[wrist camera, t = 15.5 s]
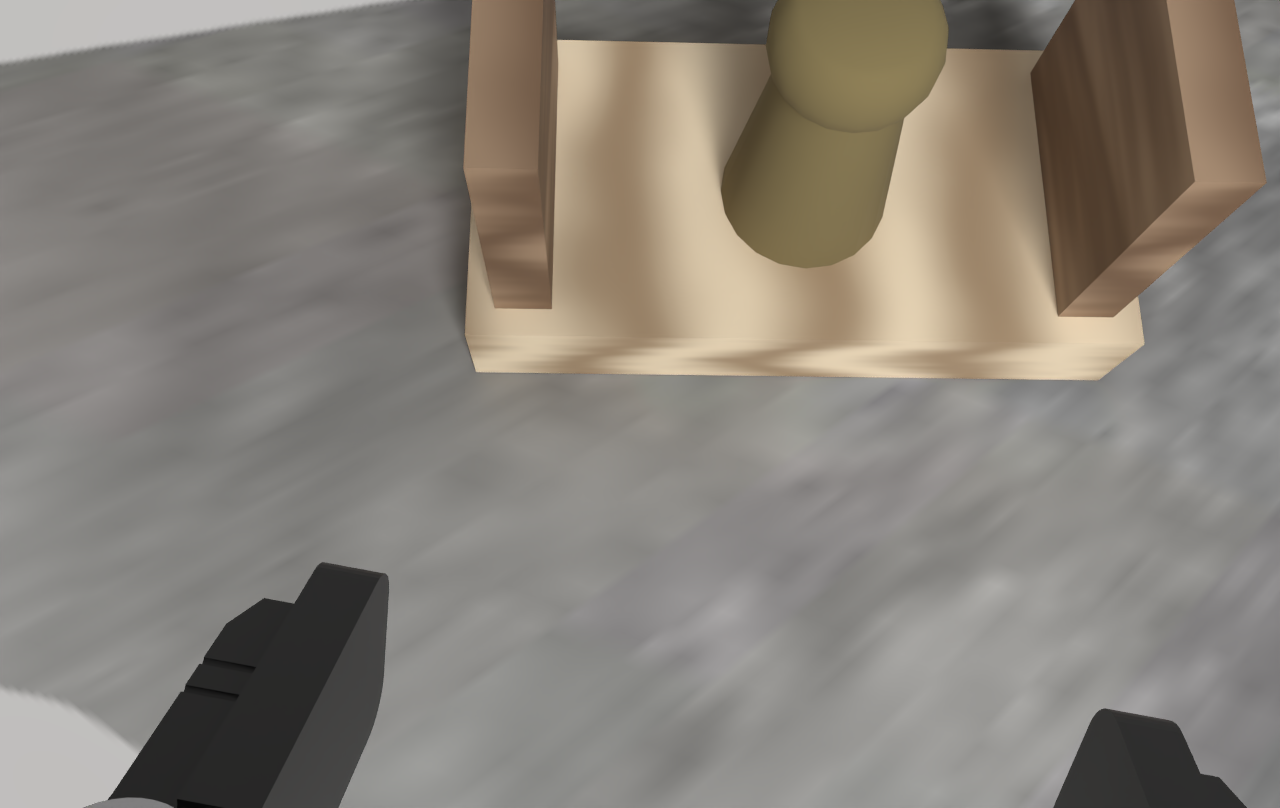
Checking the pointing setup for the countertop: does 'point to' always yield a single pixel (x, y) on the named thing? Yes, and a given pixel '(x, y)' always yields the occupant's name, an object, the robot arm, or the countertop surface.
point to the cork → (830, 124)
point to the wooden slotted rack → (912, 219)
